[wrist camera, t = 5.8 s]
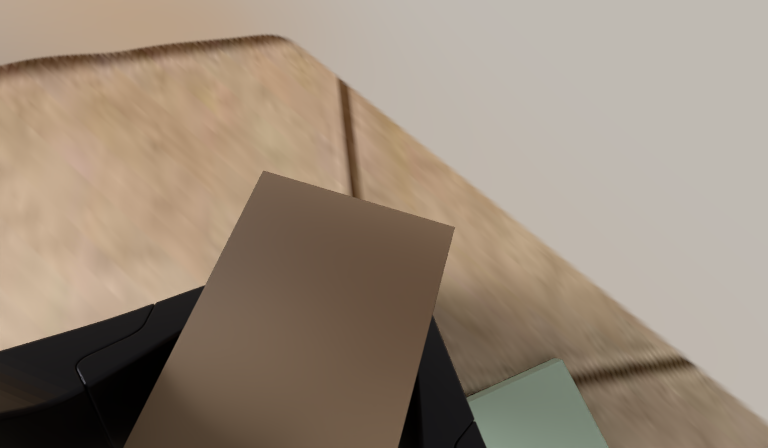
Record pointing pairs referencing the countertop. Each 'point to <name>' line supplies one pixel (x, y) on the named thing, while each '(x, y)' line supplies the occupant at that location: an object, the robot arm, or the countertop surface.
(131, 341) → the robot arm
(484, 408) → the mat
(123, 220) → the countertop surface
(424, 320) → the block
